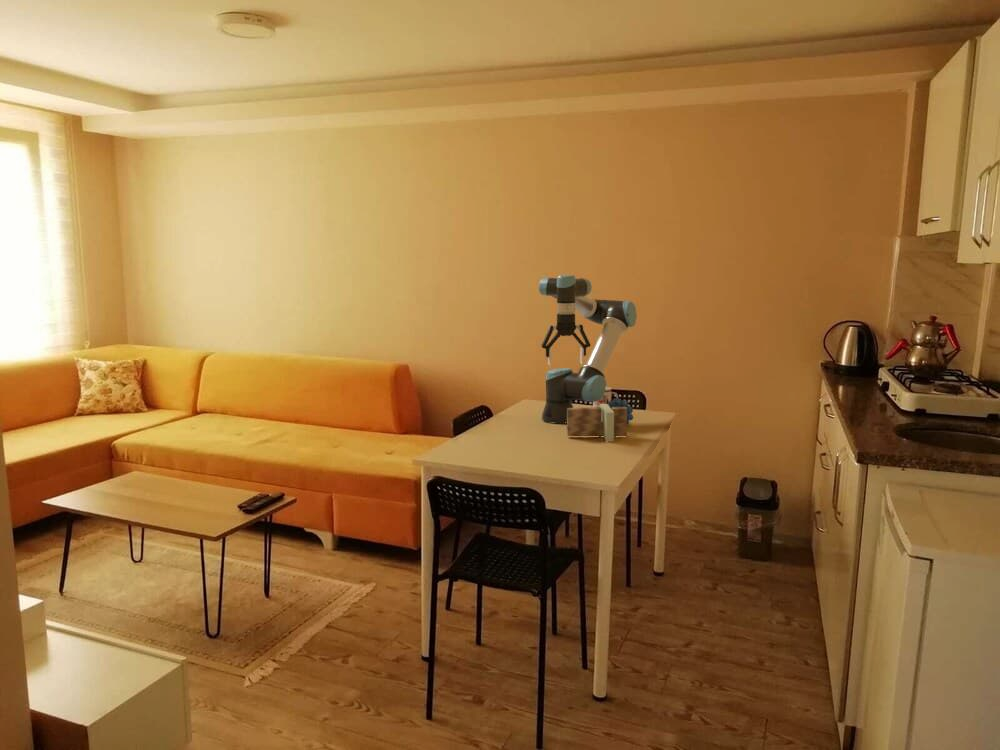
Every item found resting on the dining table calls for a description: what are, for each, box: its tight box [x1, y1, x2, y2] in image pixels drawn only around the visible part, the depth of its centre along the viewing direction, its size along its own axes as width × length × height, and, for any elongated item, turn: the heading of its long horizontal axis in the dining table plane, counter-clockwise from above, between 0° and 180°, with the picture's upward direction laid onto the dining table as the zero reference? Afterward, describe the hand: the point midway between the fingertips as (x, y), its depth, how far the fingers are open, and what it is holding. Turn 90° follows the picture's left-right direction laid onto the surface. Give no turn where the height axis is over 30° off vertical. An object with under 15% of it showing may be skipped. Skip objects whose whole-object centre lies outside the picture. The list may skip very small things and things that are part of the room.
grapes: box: [609, 397, 634, 426], centre depth 315 cm, size 12×7×12 cm, turn 71°
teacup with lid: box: [592, 385, 619, 408], centre depth 351 cm, size 12×9×12 cm
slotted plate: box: [600, 404, 615, 442], centre depth 297 cm, size 16×3×12 cm, turn 2°
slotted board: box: [566, 407, 628, 437], centre depth 296 cm, size 24×3×12 cm, turn 92°
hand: (565, 364), depth 301 cm, fingers open, 13 cm apart
